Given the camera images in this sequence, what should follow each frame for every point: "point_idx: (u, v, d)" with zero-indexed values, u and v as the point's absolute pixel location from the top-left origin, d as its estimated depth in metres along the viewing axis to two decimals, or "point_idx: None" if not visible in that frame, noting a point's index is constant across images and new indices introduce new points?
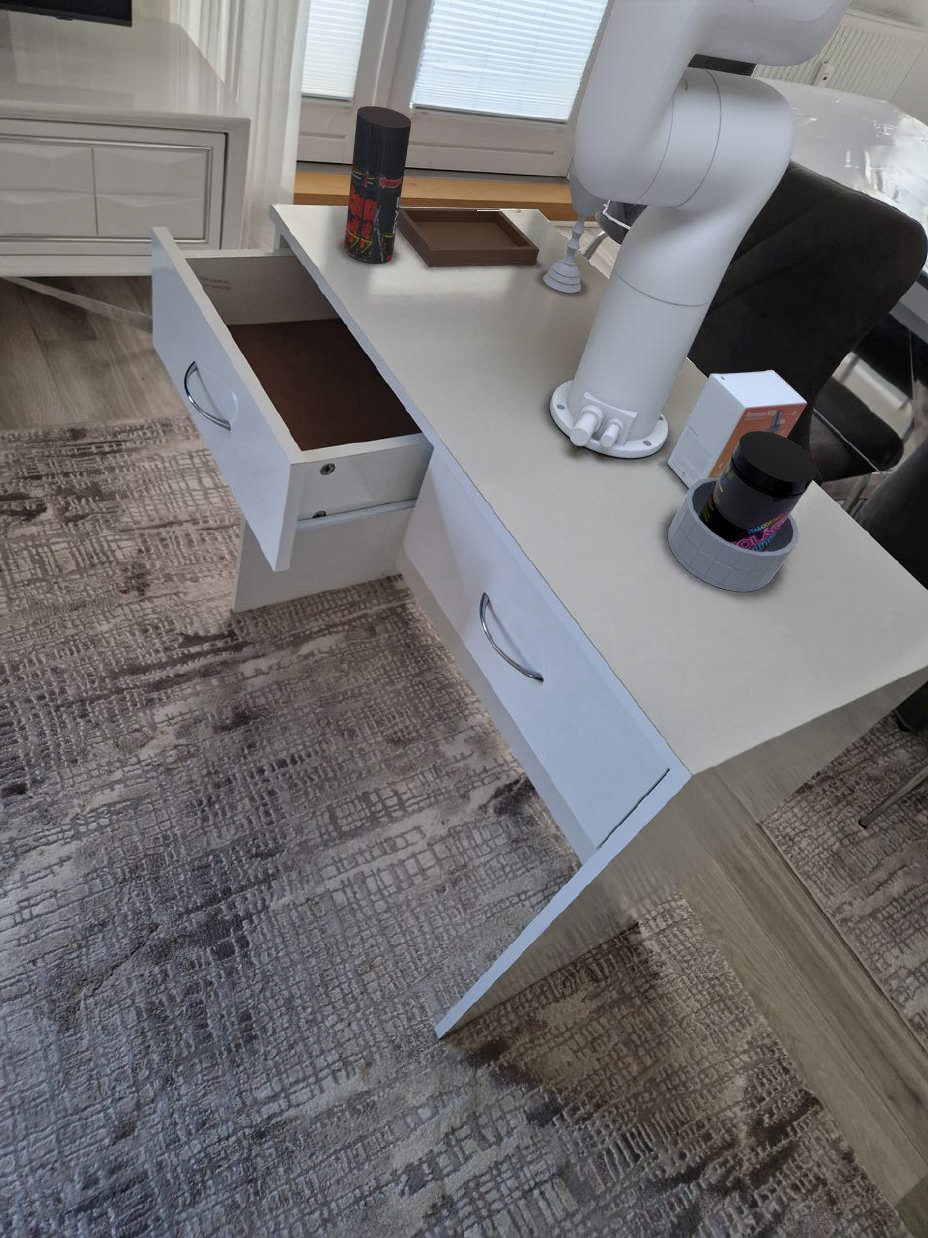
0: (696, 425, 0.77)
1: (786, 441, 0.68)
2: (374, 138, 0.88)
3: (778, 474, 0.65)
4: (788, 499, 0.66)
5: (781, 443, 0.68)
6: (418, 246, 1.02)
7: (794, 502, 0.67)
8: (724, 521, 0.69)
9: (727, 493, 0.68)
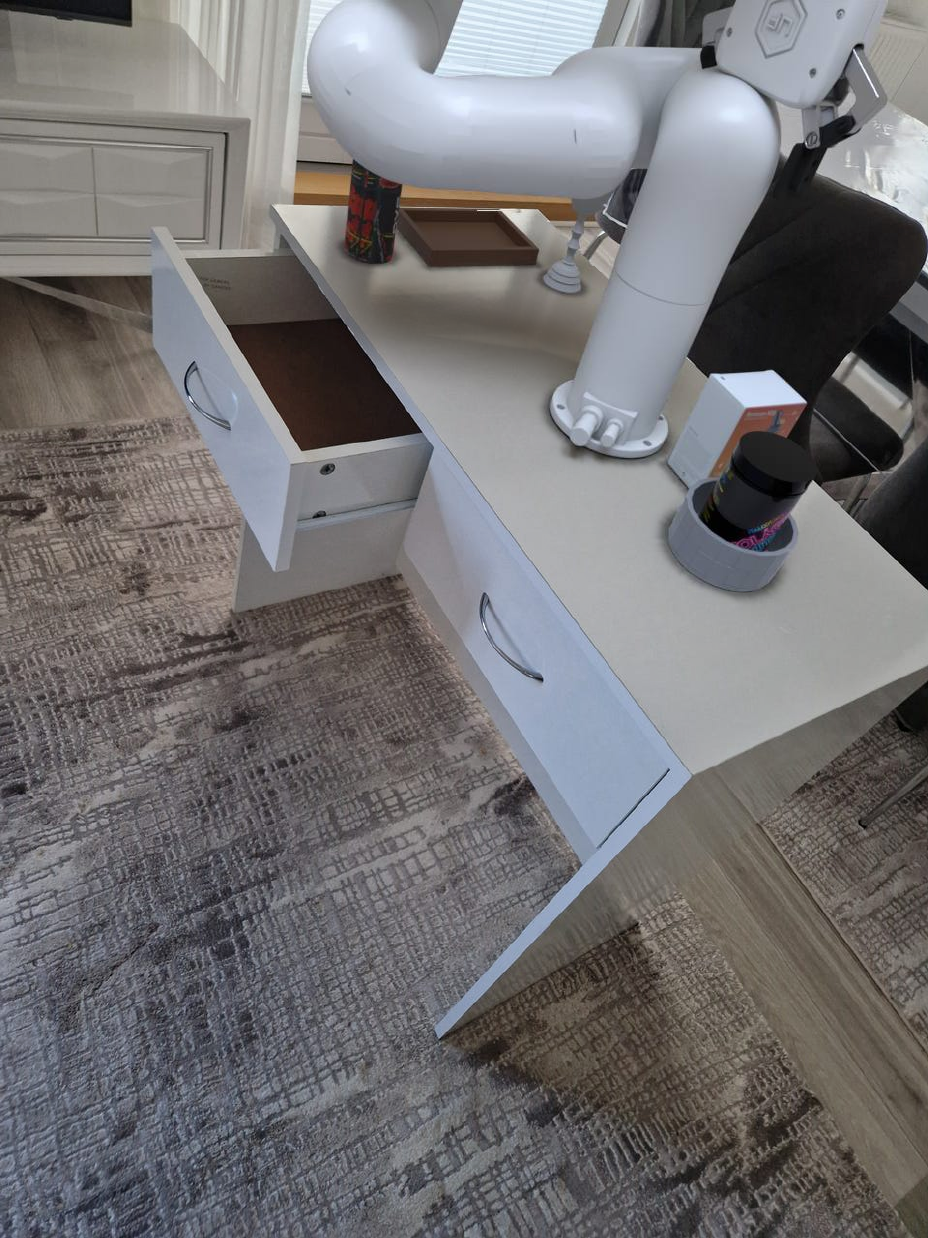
0: (696, 425, 0.77)
1: (786, 441, 0.68)
2: None
3: (778, 474, 0.65)
4: (788, 499, 0.66)
5: (781, 443, 0.68)
6: (418, 246, 1.02)
7: (794, 502, 0.67)
8: (724, 521, 0.69)
9: (727, 493, 0.68)
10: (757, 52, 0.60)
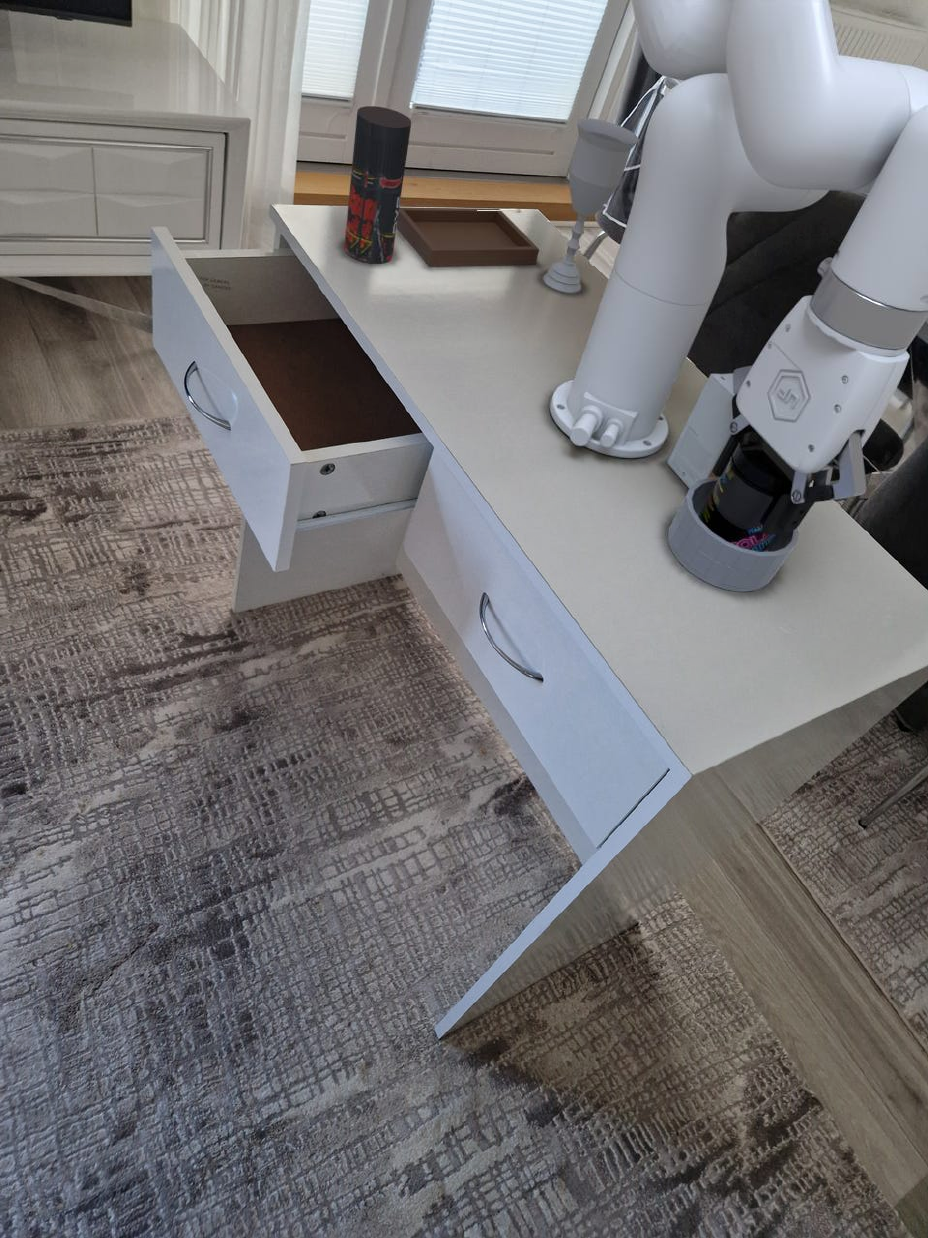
0: (696, 425, 0.77)
1: None
2: (374, 138, 0.88)
3: (778, 474, 0.65)
4: None
5: None
6: (418, 246, 1.02)
7: None
8: (724, 521, 0.69)
9: (727, 493, 0.68)
10: (768, 411, 0.63)
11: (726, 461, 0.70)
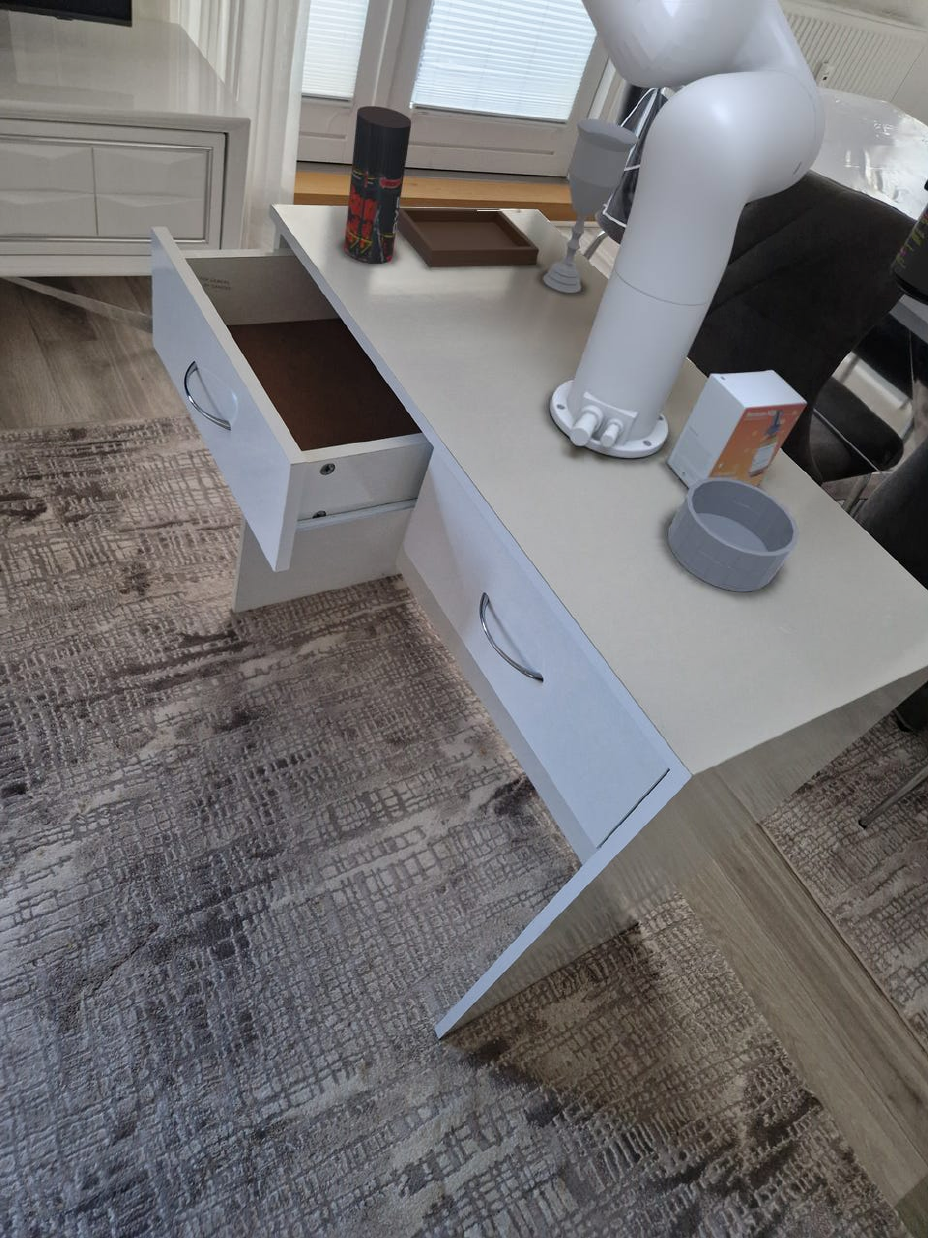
0: (696, 425, 0.77)
1: None
2: (374, 138, 0.88)
3: None
4: None
5: None
6: (418, 246, 1.02)
7: None
8: None
9: None
10: None
11: None
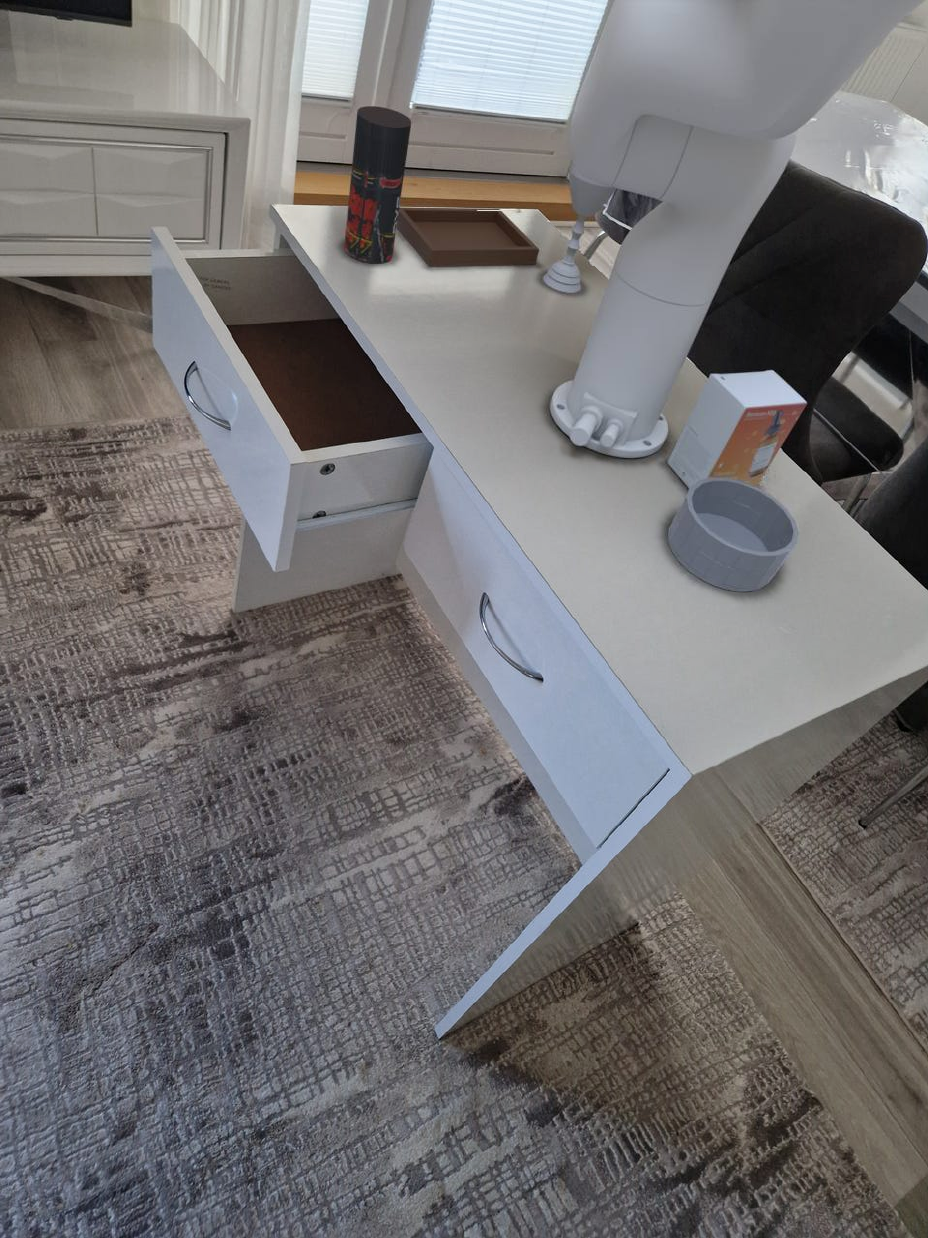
0: (696, 425, 0.77)
1: None
2: (374, 138, 0.88)
3: None
4: None
5: None
6: (418, 246, 1.02)
7: None
8: None
9: None
10: None
11: None
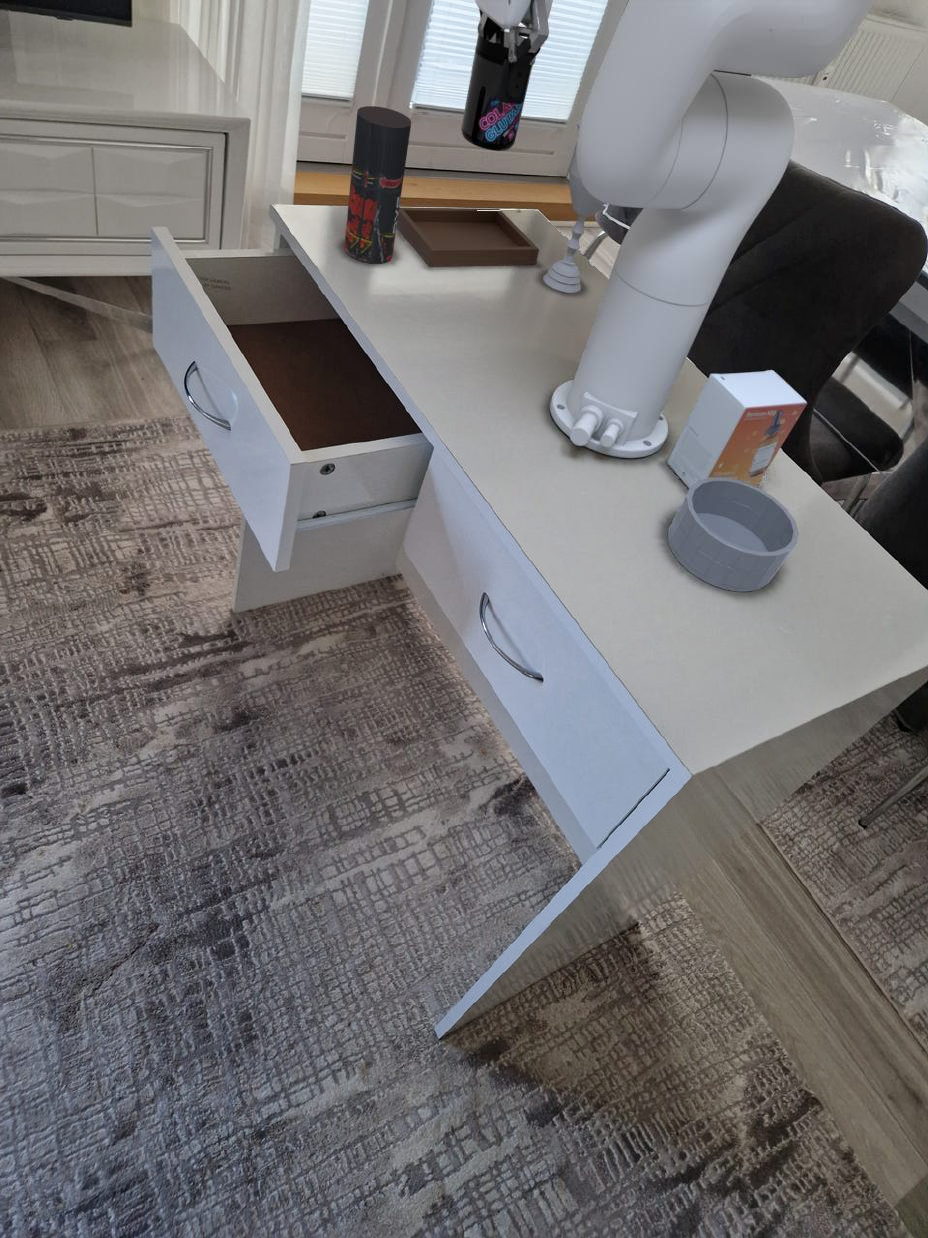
0: (696, 425, 0.77)
1: (519, 36, 0.92)
2: (374, 138, 0.88)
3: (502, 44, 0.88)
4: None
5: None
6: (418, 246, 1.02)
7: None
8: (474, 99, 0.93)
9: (474, 73, 0.92)
10: None
11: None
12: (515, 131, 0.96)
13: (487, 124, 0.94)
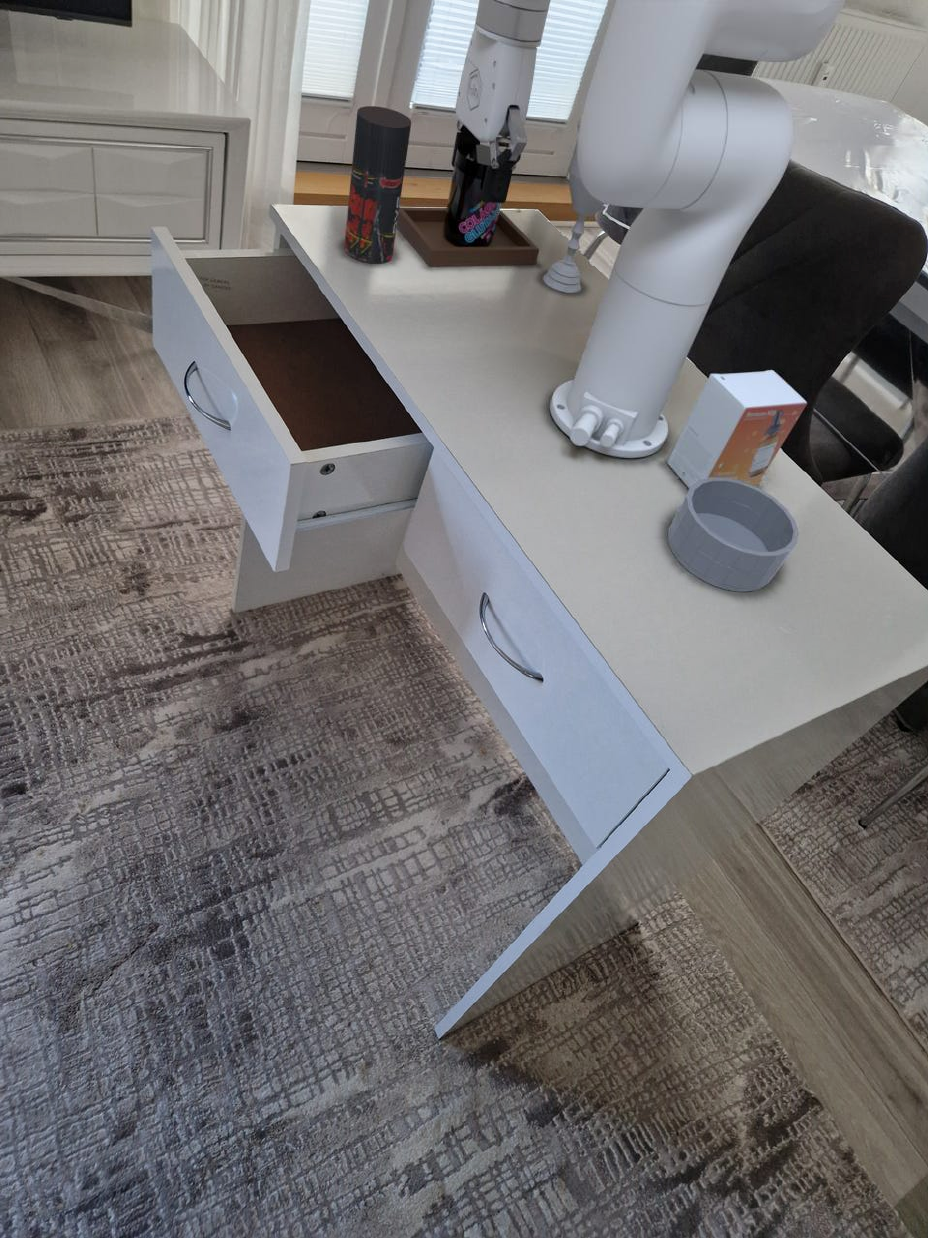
0: (696, 425, 0.77)
1: None
2: (374, 138, 0.88)
3: (479, 160, 0.97)
4: None
5: None
6: (418, 246, 1.02)
7: None
8: (454, 206, 1.01)
9: (453, 183, 1.00)
10: (467, 107, 0.95)
11: None
12: (492, 232, 1.04)
13: (466, 228, 1.02)
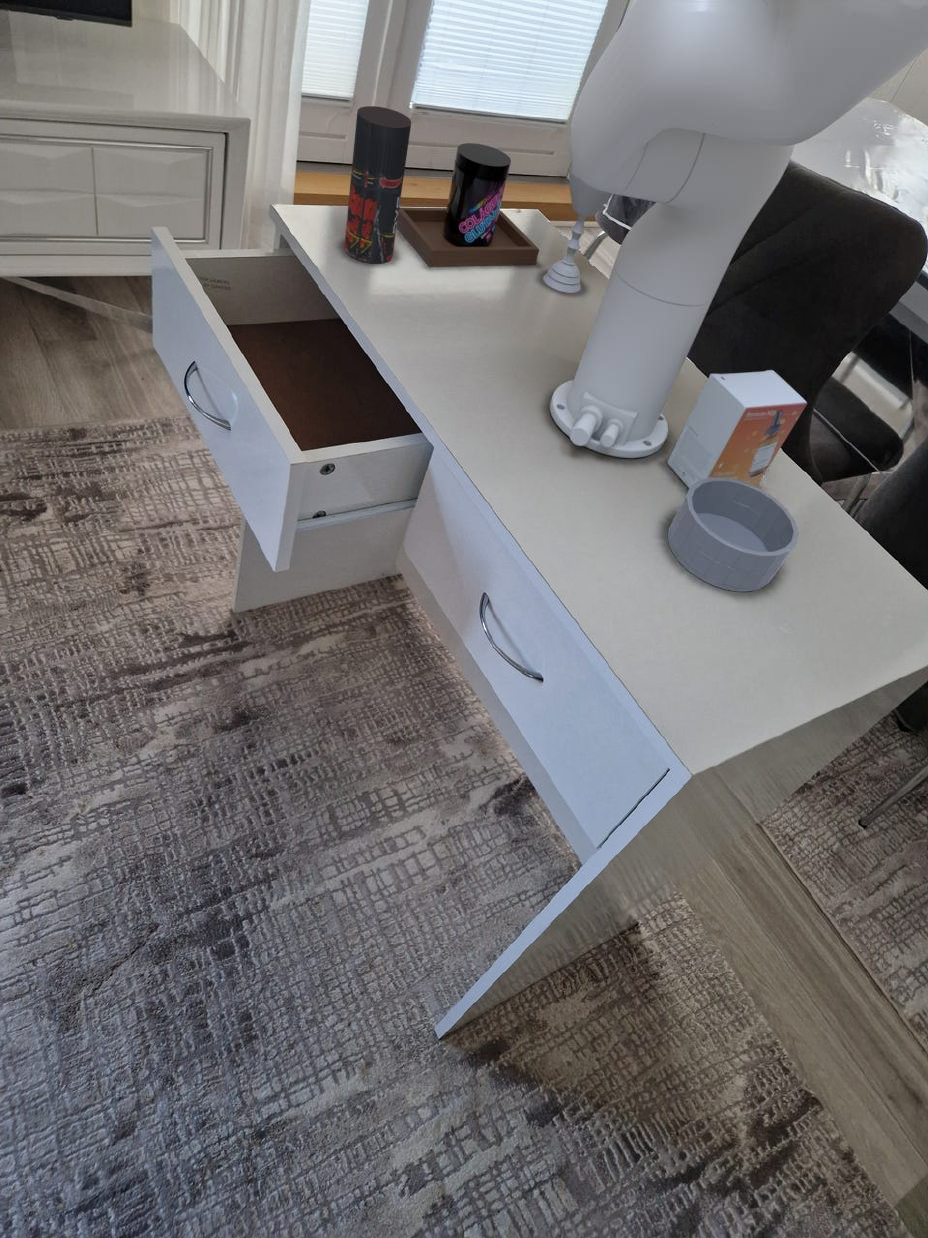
0: (696, 425, 0.77)
1: (495, 150, 1.01)
2: (374, 138, 0.88)
3: (479, 160, 0.97)
4: (489, 181, 0.98)
5: (490, 150, 1.00)
6: (418, 246, 1.02)
7: (496, 186, 0.99)
8: (454, 206, 1.01)
9: (453, 183, 1.00)
10: None
11: None
12: (492, 232, 1.04)
13: (466, 228, 1.02)
